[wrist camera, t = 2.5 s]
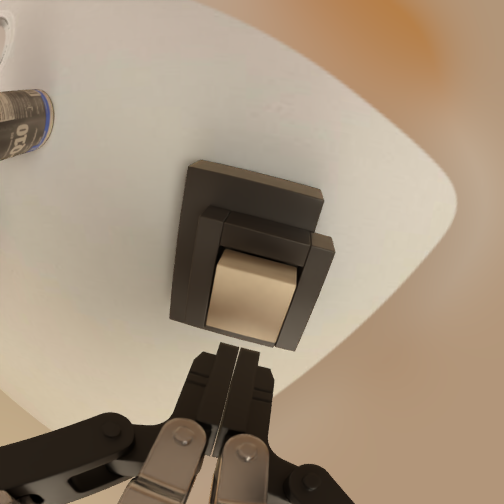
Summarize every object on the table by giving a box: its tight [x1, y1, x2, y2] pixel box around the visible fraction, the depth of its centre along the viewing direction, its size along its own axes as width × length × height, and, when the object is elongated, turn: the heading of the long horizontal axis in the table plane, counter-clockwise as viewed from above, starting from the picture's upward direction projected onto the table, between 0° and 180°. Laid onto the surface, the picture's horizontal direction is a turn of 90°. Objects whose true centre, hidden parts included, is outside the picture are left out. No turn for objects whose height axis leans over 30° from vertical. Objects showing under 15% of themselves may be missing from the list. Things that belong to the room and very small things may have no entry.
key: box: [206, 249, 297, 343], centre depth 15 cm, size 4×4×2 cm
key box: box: [169, 160, 335, 351], centre depth 17 cm, size 10×8×4 cm
